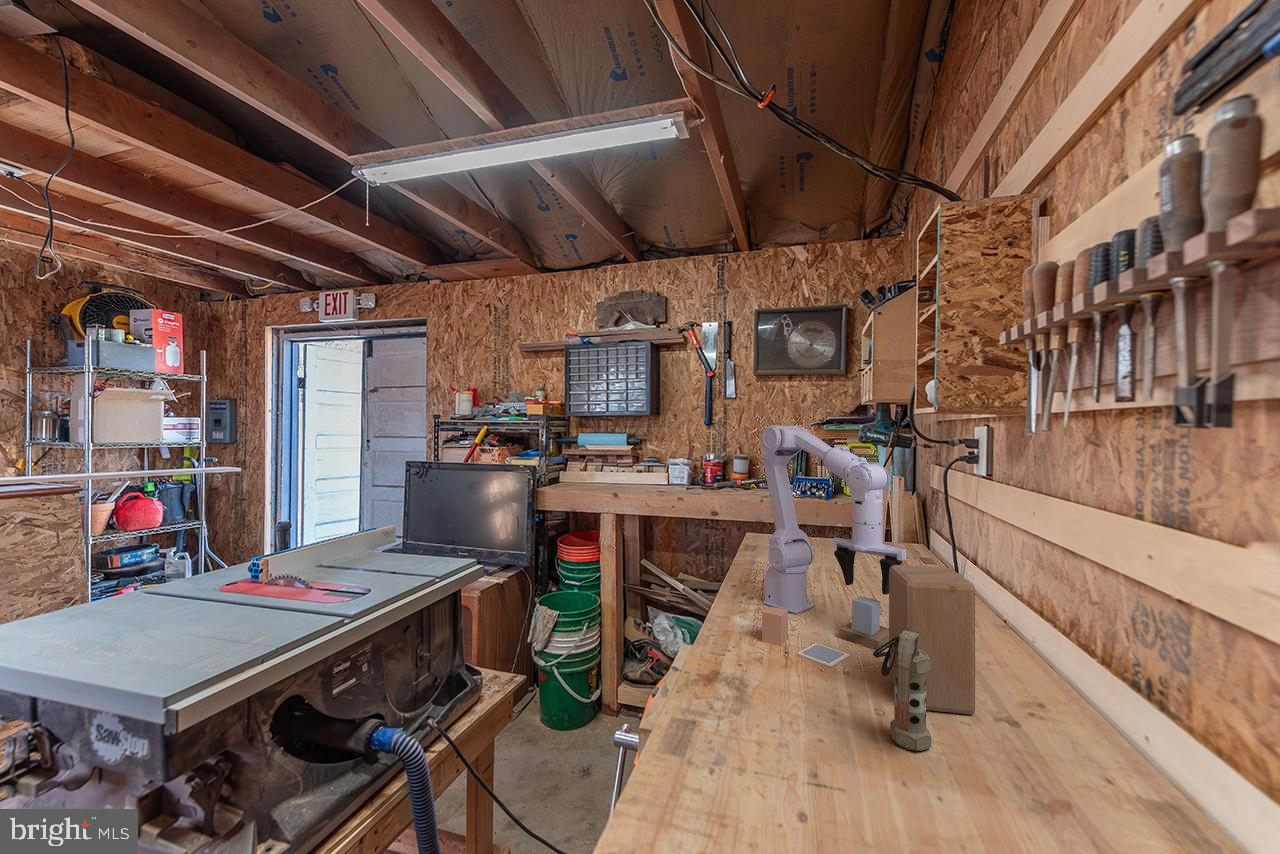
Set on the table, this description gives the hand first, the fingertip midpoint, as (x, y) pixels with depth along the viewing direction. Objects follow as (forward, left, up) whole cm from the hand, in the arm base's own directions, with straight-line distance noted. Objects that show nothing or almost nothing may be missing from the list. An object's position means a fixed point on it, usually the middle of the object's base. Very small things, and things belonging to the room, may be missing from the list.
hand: (867, 588), depth 104 cm
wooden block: (+17, -15, -10) cm, 25 cm away
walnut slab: (0, 0, -11) cm, 11 cm away
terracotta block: (-12, -15, -10) cm, 22 cm away
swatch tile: (-2, -14, -10) cm, 17 cm away
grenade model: (+19, -31, -10) cm, 38 cm away
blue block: (0, -1, -8) cm, 8 cm away
